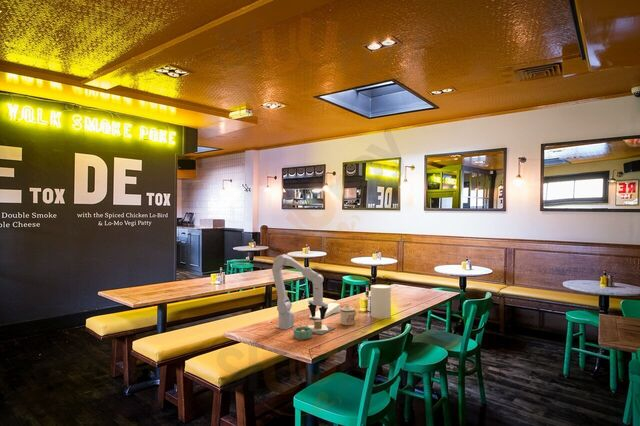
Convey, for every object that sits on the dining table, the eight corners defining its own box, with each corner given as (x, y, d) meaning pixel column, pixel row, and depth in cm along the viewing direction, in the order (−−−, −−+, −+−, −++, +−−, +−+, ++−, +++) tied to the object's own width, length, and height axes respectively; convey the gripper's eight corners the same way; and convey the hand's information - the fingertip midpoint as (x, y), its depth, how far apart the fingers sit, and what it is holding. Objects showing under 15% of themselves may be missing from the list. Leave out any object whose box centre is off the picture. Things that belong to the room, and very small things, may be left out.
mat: (314, 324, 240) (314, 323, 240) (335, 328, 232) (335, 327, 232) (300, 330, 228) (300, 329, 228) (321, 335, 219) (321, 334, 219)
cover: (307, 326, 234) (307, 318, 234) (325, 325, 236) (325, 317, 236) (309, 332, 224) (309, 323, 224) (328, 331, 225) (328, 322, 225)
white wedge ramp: (320, 329, 251) (340, 313, 275) (321, 318, 250) (342, 304, 273) (307, 323, 256) (329, 308, 280) (308, 313, 255) (330, 299, 278)
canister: (376, 319, 253) (376, 288, 253) (367, 314, 266) (367, 285, 266) (394, 317, 257) (394, 287, 257) (385, 312, 270) (384, 283, 270)
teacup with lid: (347, 326, 237) (347, 307, 237) (337, 323, 243) (337, 304, 244) (360, 322, 245) (360, 304, 245) (350, 319, 252) (350, 301, 252)
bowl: (301, 332, 224) (301, 325, 224) (315, 335, 219) (315, 328, 219) (290, 337, 216) (290, 330, 216) (304, 340, 210) (304, 333, 210)
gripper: (304, 294, 232) (304, 316, 232) (321, 297, 222) (321, 321, 222) (313, 292, 237) (313, 314, 237) (330, 296, 227) (330, 319, 227)
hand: (317, 317), depth 230 cm, fingers open, 7 cm apart
